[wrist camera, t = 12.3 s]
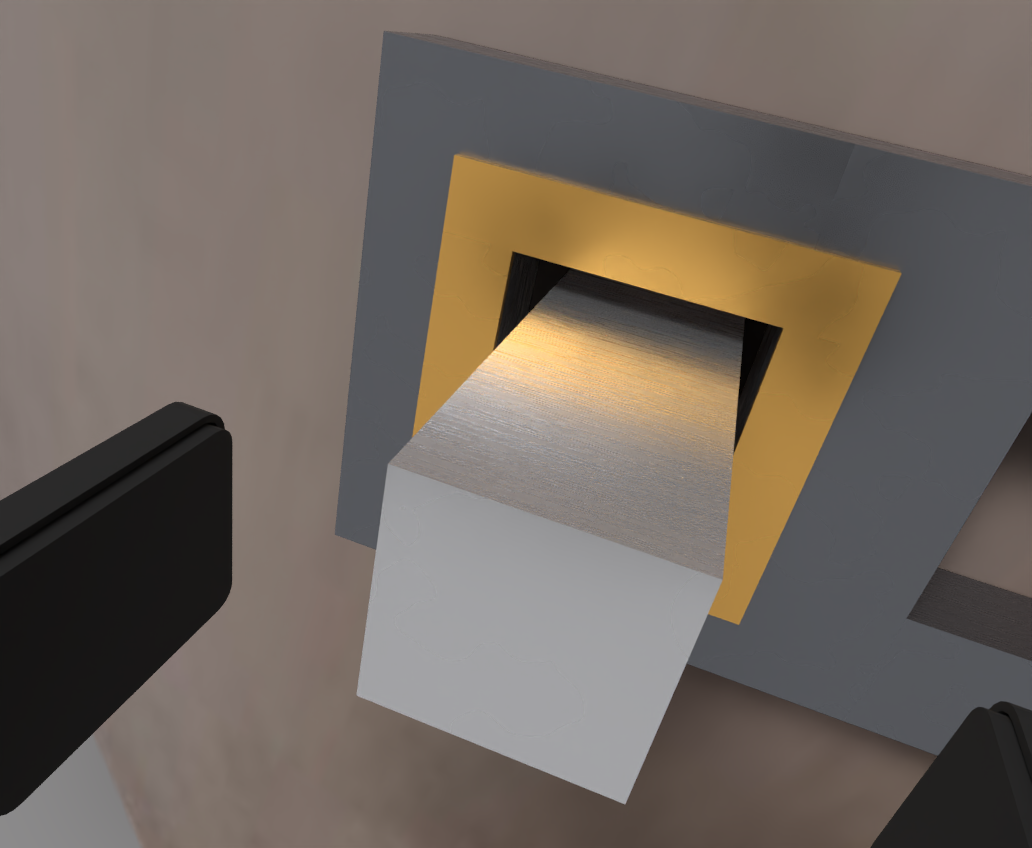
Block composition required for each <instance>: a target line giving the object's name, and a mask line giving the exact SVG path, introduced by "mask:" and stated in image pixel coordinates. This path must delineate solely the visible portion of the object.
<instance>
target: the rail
mask: <svg viewBox="0 0 1032 848" xmlns="http://www.w3.org/2000/svg"><path fill="white" fill-rule="evenodd" d="M540 259H542V260H545V261H549V262H553V263H556V264H560V265H563V266H567V267H570V268H574V269H577V270H581V271H584V272H588V273H591V274H595V275H598V276H602V277H605V278H609V279H612V280H616V281H619V282H623V283H626V284H630V285H633V286H637V287H640V288H644V289H648V290H651V291H655V292H658V293H662V294H665V295H669V296H672V297H676V298H679V299H683V300H686V301H690V302H693V303H697V304H700V305H704V306H707V307H711V308H714V309H718V310H721V311H725V312H728V313H732V314H735V315H739V316H742V317H746V318H750V319H753V320H757V321H760V322H764V323H767V324H768V326H767V329H766V331H765V334H764V336H763V339H762V342H761V344H760V347H759V349H758V352H757V355H756V357H755V360H754V362H753V365H752V368H751V370H750V373H749V375H748V378H747V380H746V383H745V386H744V388H743V391H742V393H741V396H740V399H739V401H738V405H737V417H736V429H735V440H734V452H733V464H732V476H731V488H730V500H729V512H728V523H727V535H726V547H725V559H724V571H723V580H722V583H721V585H720V587H719V590H718V592H717V594H716V597H715V599H714V601H713V603H712V606H711V608H710V610H709V613H708V615H707V617H706V620H705V622H704V624H703V626H702V629H701V631H700V633H699V636H698V638H697V640H696V643H695V645H694V647H693V649H692V652H691V654H690V656H689V659H688V661H687V663H686V664H689V665H692V666H695V667H697V668H700V669H703V670H705V671H708V672H711V673H714V674H716V675H719V676H722V677H725V678H727V679H730V680H733V681H735V682H738V683H741V684H744V685H746V686H749V687H752V688H755V689H757V690H760V691H763V692H765V693H768V694H771V695H774V696H776V697H779V698H782V699H784V700H787V701H790V702H793V703H795V704H798V705H801V706H804V707H806V708H809V709H812V710H814V711H817V712H820V713H823V714H825V715H828V716H831V717H834V718H836V719H839V720H842V721H844V722H847V723H850V724H853V725H855V726H858V727H861V728H864V729H866V730H869V731H872V732H874V733H877V734H880V735H883V736H885V737H888V738H891V739H894V740H896V741H899V742H902V743H904V744H907V745H910V746H913V747H915V748H918V749H921V750H924V751H926V752H929V753H932V754H934V755H937V756H938V755H939V754H940V752H941V751H942V750H943V748H944V747H945V746H946V744H947V743H948V742H949V740H950V739H951V738H952V736H953V735H954V733H955V732H956V731H957V729H958V728H959V727H960V725H961V724H962V723H963V721H964V720H965V719H966V717H967V716H968V715H969V713H970V712H971V711H972V710H973V709H975V708H977V707H984V708H987V709H990V708H991V707H992V706H993V705H994V704H996V703H998V702H1000V701H1005V702H1010V703H1012V704H1015V705H1018V706H1021V707H1023V708H1026V709H1029V710H1032V598H1029V597H1026V596H1023V595H1019V594H1016V593H1013V592H1010V591H1007V590H1004V589H1001V588H998V587H995V586H992V585H989V584H986V583H983V582H980V581H977V580H974V579H970V578H967V577H964V576H961V575H958V574H955V573H952V572H949V571H946V570H943V569H940V568H937V567H938V566H939V564H940V562H941V561H942V559H943V557H944V556H945V554H946V553H947V551H948V549H949V548H950V546H951V544H952V543H953V541H954V539H955V538H956V536H957V534H958V533H959V531H960V530H961V528H962V526H963V525H964V523H965V521H966V520H967V518H968V516H969V515H970V513H971V511H972V510H973V508H974V506H975V505H976V503H977V502H978V500H979V498H980V497H981V495H982V493H983V492H984V490H985V488H986V487H987V485H988V483H989V482H990V480H991V479H992V477H993V475H994V474H995V472H996V470H997V469H998V467H999V465H1000V464H1001V462H1002V460H1003V459H1004V457H1005V455H1006V454H1007V452H1008V451H1009V449H1010V447H1011V446H1012V444H1013V442H1014V441H1015V439H1016V437H1017V436H1018V434H1019V432H1020V431H1021V429H1022V428H1023V426H1024V424H1025V423H1026V421H1027V419H1028V418H1029V416H1030V414H1031V413H1032V177H1031V176H1027V175H1023V174H1019V173H1014V172H1010V171H1006V170H1002V169H998V168H993V167H989V166H985V165H981V164H977V163H972V162H968V161H964V160H960V159H956V158H951V157H947V156H943V155H939V154H934V153H930V152H926V151H922V150H918V149H913V148H909V147H905V146H901V145H897V144H892V143H888V142H884V141H880V140H876V139H871V138H867V137H863V136H859V135H854V134H850V133H846V132H842V131H838V130H833V129H829V128H825V127H821V126H817V125H812V124H808V123H804V122H800V121H795V120H791V119H787V118H783V117H779V116H774V115H770V114H766V113H762V112H758V111H753V110H749V109H745V108H741V107H737V106H732V105H728V104H724V103H720V102H715V101H711V100H707V99H703V98H699V97H694V96H690V95H686V94H682V93H678V92H673V91H669V90H665V89H661V88H657V87H652V86H648V85H644V84H640V83H635V82H631V81H627V80H623V79H619V78H614V77H610V76H606V75H602V74H598V73H593V72H589V71H585V70H581V69H577V68H572V67H568V66H564V65H560V64H555V63H551V62H547V61H543V60H539V59H534V58H530V57H526V56H522V55H518V54H513V53H509V52H505V51H501V50H497V49H492V48H488V47H484V46H480V45H475V44H471V43H467V42H463V41H459V40H454V39H450V38H446V37H442V36H438V35H430V34H416V33H403V32H389V31H384V35H383V45H382V55H381V66H380V76H379V86H378V96H377V107H376V117H375V127H374V137H373V148H372V158H371V168H370V179H369V189H368V199H367V209H366V220H365V230H364V240H363V251H362V261H361V271H360V281H359V292H358V302H357V312H356V323H355V333H354V343H353V353H352V364H351V374H350V384H349V395H348V405H347V415H346V425H345V436H344V446H343V456H342V466H341V477H340V487H339V497H338V508H337V518H336V528H335V535H337V536H340V537H343V538H346V539H348V540H351V541H354V542H356V543H359V544H362V545H365V546H367V547H370V548H373V549H376V548H377V541H378V533H379V526H380V519H381V511H382V504H383V496H384V489H385V482H386V474H387V467H388V463H389V462H390V461H391V460H392V459H393V458H394V457H395V456H396V455H397V454H398V453H399V451H400V450H401V449H402V448H403V447H404V446H405V445H406V444H407V443H408V442H409V441H410V440H411V439H412V438H413V437H414V435H415V434H416V433H417V432H418V431H419V430H420V429H421V428H422V427H423V426H424V425H425V424H426V423H427V422H428V420H429V419H430V418H431V417H432V416H433V415H434V414H435V413H436V412H437V411H438V410H439V409H440V408H441V407H442V406H443V404H444V403H445V402H446V401H447V400H448V399H449V398H450V397H451V396H452V395H453V394H454V393H455V392H456V391H457V390H458V388H459V387H460V386H461V385H462V384H463V383H464V382H465V381H466V380H467V379H468V378H469V377H470V376H471V375H472V374H473V372H474V371H475V370H476V369H477V368H478V367H479V366H480V365H481V364H482V363H483V362H484V361H485V360H486V359H487V358H488V356H489V355H490V354H491V353H492V352H493V351H494V350H495V349H496V348H497V347H498V346H499V345H500V344H501V343H502V341H503V340H504V339H505V338H506V337H507V336H508V335H509V334H510V333H511V332H512V331H513V330H514V329H515V328H516V327H517V325H518V324H519V323H520V322H521V321H522V320H523V319H524V318H525V317H526V316H527V315H528V311H529V306H530V301H531V297H532V292H533V287H534V283H535V278H536V274H537V269H538V264H539V260H540Z"/></svg>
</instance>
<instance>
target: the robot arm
mask: <svg viewBox="0 0 1032 848" xmlns="http://www.w3.org/2000/svg"><path fill="white" fill-rule="evenodd" d="M231 586H232V436H231V434H230V432H228V431H227V430H225V428H224V423H223V421H222V419H221V418H220V417H219V416H217V415H216V414H213V413H210V412H207V411H205V410H202V409H199V408H196V407H194V406H191V405H188V404H185V403H183V402H174V403H171V404H169V405H167V406H165V407H163V408H162V409H160V410H158V411H156V412H155V413H153V414H151V415H149V416H148V417H146V418H144V419H142V420H141V421H139V422H137V423H135V424H134V425H132V426H130V427H128V428H127V429H125V430H123V431H121V432H120V433H118V434H116V435H114V436H113V437H111V438H109V439H107V440H106V441H104V442H102V443H100V444H99V445H97V446H95V447H93V448H92V449H90V450H88V451H86V452H85V453H83V454H81V455H79V456H78V457H76V458H74V459H72V460H71V461H69V462H67V463H65V464H64V465H62V466H60V467H58V468H57V469H55V470H53V471H51V472H50V473H48V474H46V475H44V476H43V477H41V478H39V479H37V480H36V481H34V482H32V483H30V484H29V485H27V486H25V487H23V488H22V489H20V490H18V491H16V492H15V493H13V494H11V495H9V496H8V497H6V498H4V499H2V500H1V501H0V816H1V815H5V814H7V813H9V812H11V811H13V810H14V809H15V808H16V807H18V806H19V805H20V804H21V803H22V802H23V801H24V800H26V798H28V796H30V795H31V794H32V793H33V791H35V790H36V788H38V787H39V786H40V785H41V784H42V783H43V782H44V781H45V780H46V779H47V778H48V777H49V776H50V775H51V774H52V773H53V772H54V771H55V770H56V769H57V768H58V767H59V766H60V765H61V764H62V763H63V762H64V761H65V760H66V759H67V758H68V757H69V756H70V755H71V754H72V753H73V752H74V751H75V750H76V749H78V747H80V745H82V744H83V743H84V741H86V740H87V739H88V738H89V737H90V736H91V735H92V734H93V733H94V732H95V731H96V730H97V729H98V728H99V727H100V726H101V725H102V724H103V723H104V722H105V721H106V720H107V719H108V718H109V717H110V716H111V715H112V714H113V713H114V712H115V711H116V710H117V709H118V708H119V707H120V706H121V705H122V704H123V703H124V702H125V701H126V700H127V699H128V698H129V697H130V696H132V695H133V694H134V693H135V692H136V691H137V690H138V689H139V688H140V687H141V686H142V685H143V684H144V683H145V682H146V681H147V680H148V679H149V678H150V677H151V676H152V675H153V674H154V673H155V672H156V671H157V670H158V669H159V668H160V667H161V666H162V665H163V664H164V663H165V662H166V661H167V660H168V659H169V658H170V657H171V656H172V655H173V654H174V653H175V652H176V651H177V650H178V649H179V648H180V647H181V646H182V645H183V644H184V643H186V642H187V641H188V640H189V639H190V638H191V637H192V636H193V635H194V634H195V633H196V632H197V631H198V630H199V629H200V628H201V627H202V626H203V625H204V624H205V623H206V622H207V621H208V620H209V619H210V618H211V617H212V616H213V615H214V614H215V613H216V612H217V611H218V610H219V609H220V608H221V607H222V605H223V604H224V602H225V601H226V599H227V597H228V595H229V593H230V590H231ZM871 848H1032V710H1029V709H1026V708H1023V707H1021V706H1018V705H1015V704H1012V703H1010V702H1005V701H1000V702H998V703H996V704H994V705H993V706H992V707H991V708H990V709H987V708H984V707H977V708H975V709H973V710H972V711H971V712H970V713H969V715H968V716H967V717H966V719H965V720H964V721H963V723H962V724H961V725H960V727H959V728H958V729H957V731H956V732H955V733H954V735H953V736H952V738H951V739H950V740H949V742H948V743H947V744H946V746H945V747H944V748H943V750H942V751H941V752H940V754H939V755H938V756H937V758H936V759H935V760H934V762H933V763H932V765H931V766H930V767H929V769H928V770H927V771H926V773H925V774H924V775H923V777H922V778H921V779H920V781H919V782H918V783H917V785H916V786H915V787H914V789H913V790H912V792H911V793H910V794H909V796H908V797H907V798H906V800H905V801H904V802H903V804H902V805H901V806H900V808H899V809H898V810H897V812H896V813H895V814H894V816H893V817H892V819H891V820H890V821H889V823H888V824H887V825H886V827H885V828H884V829H883V831H882V832H881V833H880V835H879V836H878V837H877V839H876V840H875V841H874V843H873V844H872V846H871Z"/></svg>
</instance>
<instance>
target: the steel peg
mask: <svg viewBox="0 0 1032 848" xmlns="http://www.w3.org/2000/svg"><path fill="white" fill-rule="evenodd" d="M744 322H745V317H742V316H739V315H735V314H732V313H728V312H725V311H721V310H718V309H714V308H711V307H707V306H704V305H700V304H697V303H693V302H690V301H686V300H683V299H679V298H676V297H672V296H669V295H665V294H662V293H658V292H655V291H651V290H648V289H644V288H640V287H637V286H633V285H630V284H626V283H623V282H619V281H616V280H612V279H609V278H605V277H602V276H598V275H595V274H591V273H588V272H584V271H581V270H577V269H574V268H571V269H570V270H569V271H568V272H567V273H566V274H565V275H564V276H563V277H562V279H561V280H560V281H559V282H558V283H557V284H556V285H555V286H554V287H553V288H552V289H551V290H550V291H549V292H548V293H547V295H546V296H545V297H544V298H543V299H542V300H541V301H540V302H539V303H538V304H537V305H536V306H535V307H534V308H533V309H532V311H531V312H530V313H529V314H528V315H527V316H526V317H525V318H524V319H523V320H522V321H521V322H520V323H519V324H518V325H517V327H516V328H515V329H514V330H513V331H512V332H511V333H510V334H509V335H508V336H507V337H506V338H505V339H504V340H503V341H502V343H501V344H500V345H499V346H498V347H497V348H496V349H495V350H494V351H493V352H492V353H491V354H490V355H489V356H488V358H487V359H486V360H485V361H484V362H483V363H482V364H481V365H480V366H479V367H478V368H477V369H476V370H475V371H474V372H473V374H472V375H471V376H470V377H469V378H468V379H467V380H466V381H465V382H464V383H463V384H462V385H461V386H460V387H459V388H458V390H457V391H456V392H455V393H454V394H453V395H452V396H451V397H450V398H449V399H448V400H447V401H446V402H445V403H444V404H443V406H442V407H441V408H440V409H439V410H438V411H437V412H436V413H435V414H434V415H433V416H432V417H431V418H430V419H429V420H428V422H427V423H426V424H425V425H424V426H423V427H422V428H421V429H420V430H419V431H418V432H417V433H416V434H415V435H414V437H413V438H412V439H411V440H410V441H409V442H408V443H407V444H406V445H405V446H404V447H403V448H402V449H401V450H400V451H399V453H398V454H397V455H396V456H395V457H394V458H393V459H392V460H391V461H390V462H389V463H388V467H387V474H386V482H385V489H384V496H383V504H382V511H381V519H380V526H379V533H378V541H377V548H376V555H375V563H374V570H373V578H372V585H371V592H370V600H369V607H368V615H367V622H366V629H365V637H364V644H363V652H362V659H361V666H360V674H359V681H358V689H357V696H359V697H362V698H364V699H367V700H369V701H372V702H374V703H376V704H379V705H381V706H384V707H386V708H389V709H391V710H394V711H396V712H399V713H401V714H404V715H406V716H409V717H411V718H413V719H416V720H418V721H421V722H423V723H426V724H428V725H431V726H433V727H436V728H438V729H441V730H443V731H445V732H448V733H450V734H453V735H455V736H458V737H460V738H463V739H465V740H468V741H470V742H473V743H475V744H478V745H480V746H482V747H485V748H487V749H490V750H492V751H495V752H497V753H500V754H502V755H505V756H507V757H510V758H512V759H514V760H517V761H519V762H522V763H524V764H527V765H529V766H532V767H534V768H537V769H539V770H542V771H544V772H547V773H549V774H551V775H554V776H556V777H559V778H561V779H564V780H566V781H569V782H571V783H574V784H576V785H579V786H581V787H584V788H586V789H588V790H591V791H593V792H596V793H598V794H601V795H603V796H606V797H608V798H611V799H613V800H616V801H618V802H620V803H623V804H626V801H627V799H628V797H629V795H630V792H631V790H632V788H633V785H634V783H635V781H636V778H637V776H638V774H639V772H640V769H641V767H642V765H643V762H644V760H645V758H646V755H647V753H648V751H649V748H650V746H651V744H652V742H653V739H654V737H655V735H656V732H657V730H658V728H659V725H660V723H661V721H662V719H663V716H664V714H665V712H666V709H667V707H668V705H669V702H670V700H671V698H672V696H673V693H674V691H675V689H676V686H677V684H678V682H679V679H680V677H681V675H682V673H683V670H684V668H685V666H686V663H687V661H688V659H689V656H690V654H691V652H692V649H693V647H694V645H695V643H696V640H697V638H698V636H699V633H700V631H701V629H702V626H703V624H704V622H705V620H706V617H707V615H708V613H709V610H710V608H711V606H712V603H713V601H714V599H715V597H716V594H717V592H718V590H719V587H720V585H721V583H722V580H723V571H724V559H725V547H726V535H727V523H728V512H729V500H730V488H731V476H732V464H733V452H734V440H735V429H736V417H737V405H738V393H739V381H740V369H741V357H742V346H743V334H744Z"/></svg>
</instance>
